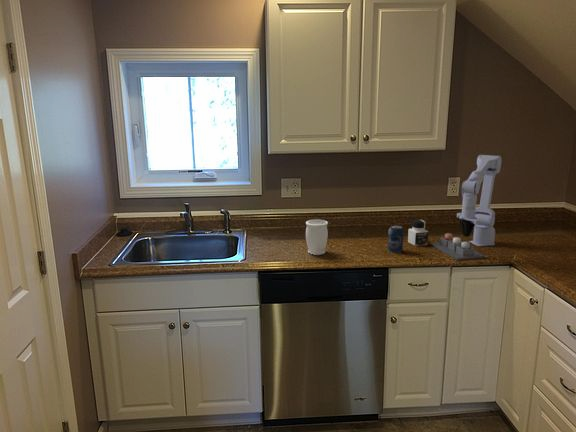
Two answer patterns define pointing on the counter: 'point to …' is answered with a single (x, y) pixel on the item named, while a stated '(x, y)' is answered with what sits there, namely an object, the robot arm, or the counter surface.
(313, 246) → the jar
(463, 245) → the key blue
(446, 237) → the key red
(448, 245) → the keypad base
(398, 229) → the soda can
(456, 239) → the key ivory
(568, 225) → the counter surface
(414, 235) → the medicine bottle
